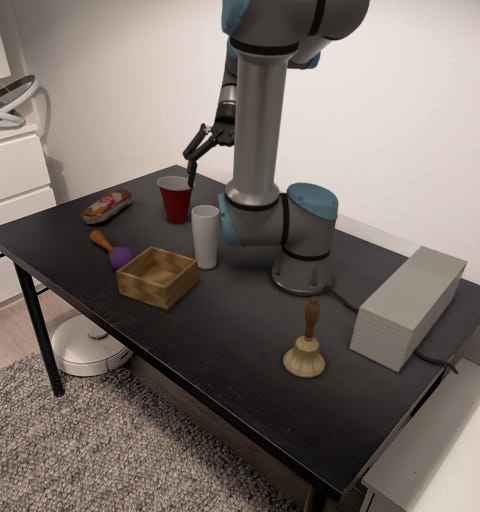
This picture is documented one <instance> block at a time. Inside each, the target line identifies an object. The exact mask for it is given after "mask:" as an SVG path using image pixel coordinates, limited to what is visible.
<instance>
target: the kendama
mask: <svg viewBox="0 0 480 512" xmlns="http://www.w3.org/2000/svg"><path fill="white" fill-rule="evenodd" d="M89 238H90V240H91V241H92V242H93V243H95V244H96V245H98V246H100V247H102V248H103V249H105V250H106V251H108V259H109V262H110V263H109V264H110V266H112V268H113V269H114V270H115V271H117V270H119V269H120V268H122V267H123V266H124V265H126V264H127V263H128V262H130V261H131V260H132V259H134V258H135V254H134V253H133V251H132V250H131V249H129V248H127V247H124V246H112V245H111V244H110V243H109V241H108V240H107V238H106V237H105V236H104V235H103V233H102V232H101V231H100V230H93V231H92V232H91V233H90V235H89Z"/></svg>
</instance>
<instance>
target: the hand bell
mask: <svg viewBox="0 0 480 512" xmlns="http://www.w3.org/2000/svg"><path fill="white" fill-rule="evenodd" d="M320 315H321V305H320V301H319V297H318V296H310V300H309V302H308V303H307V305H306V307H305V311H304V321H305V330H304V333H303V334H304V335H301V336H299V337H297V339H296V340H295V343H294V345H293V347H292V348H290V349H289V350H288V351H286V352H285V354H284V355H283V358H282V364H283V366H284V368H285V369H286V370H287V371H288V372H289V373H290V374H292V375H294V376H296V377H300V378H305V379H307V378H308V379H309V378H314V377H317V376H319V375H321V374H322V373H323V372H324V370H325V368H326V362H325V359H324V357H323V355H322V354H321V353H320V343H319V341H318V339H316V338H315V337H314V333H315V327H316V325H317V323H318V321H319V319H320Z"/></svg>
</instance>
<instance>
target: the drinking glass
mask: <svg viewBox="0 0 480 512" xmlns="http://www.w3.org/2000/svg"><path fill="white" fill-rule="evenodd" d="M190 217H191V232H192V240H193V247H194V249H193V250H194V257H195V258H194V259H195V260H198V269H202V270H212V269H214V268H215V267H216V265H217V256H218V248H219V247H218V246H219V245H218V244H219V238H220V237H219V236H220V228H221V227H220V224H221V216H220V209H219V208H218V207H216V206H213V205H209V204H201V205H197V206H195V207H193V208H192V209H191V216H190Z"/></svg>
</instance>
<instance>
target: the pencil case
mask: <svg viewBox="0 0 480 512" xmlns="http://www.w3.org/2000/svg"><path fill="white" fill-rule="evenodd" d="M132 195H133V193H132V192H131V191H130V190H128V189H125V188H124V189H123V188H122V189H121V188H120V189H117V190H116V191H113V192H111V193H109V194H107V195H106V196H104V197H102V198H100V199H99V200H97V201H96V202H94V203H93V204H91V205H90V206H88V207H87V208H85V209H84V210H83V211H82V212H81V213H80V214H81V217H82V220H83V221H84V222H85V223H86V224H87V225H95V224H99V223H103V222H106V221H107V220H108V219H110V218H111V217H113V216H115V215H116V214H117V213H119V212H120V211H122V210H124V208H126V207H128V206H129V205H131V204H132V201H133V200H132V199H131V198H132Z"/></svg>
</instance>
